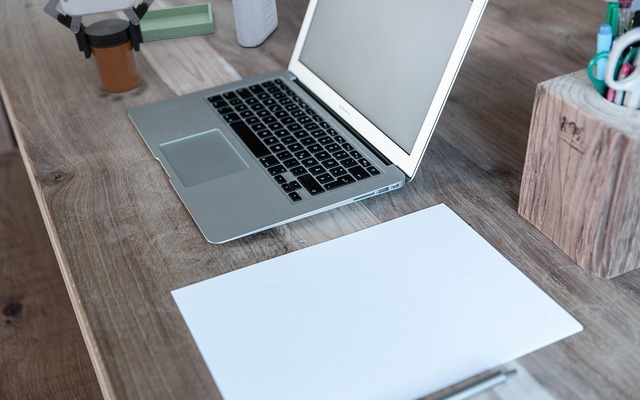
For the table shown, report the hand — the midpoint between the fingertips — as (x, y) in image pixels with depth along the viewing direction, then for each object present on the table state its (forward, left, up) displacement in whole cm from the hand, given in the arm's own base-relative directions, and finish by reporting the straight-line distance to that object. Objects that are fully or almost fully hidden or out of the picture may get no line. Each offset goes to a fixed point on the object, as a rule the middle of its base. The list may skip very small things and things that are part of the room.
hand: (113, 50), depth 105 cm
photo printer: (+22, +12, -6) cm, 26 cm away
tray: (+7, +21, -5) cm, 23 cm away
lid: (0, 0, +3) cm, 3 cm away
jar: (0, 0, -5) cm, 5 cm away
